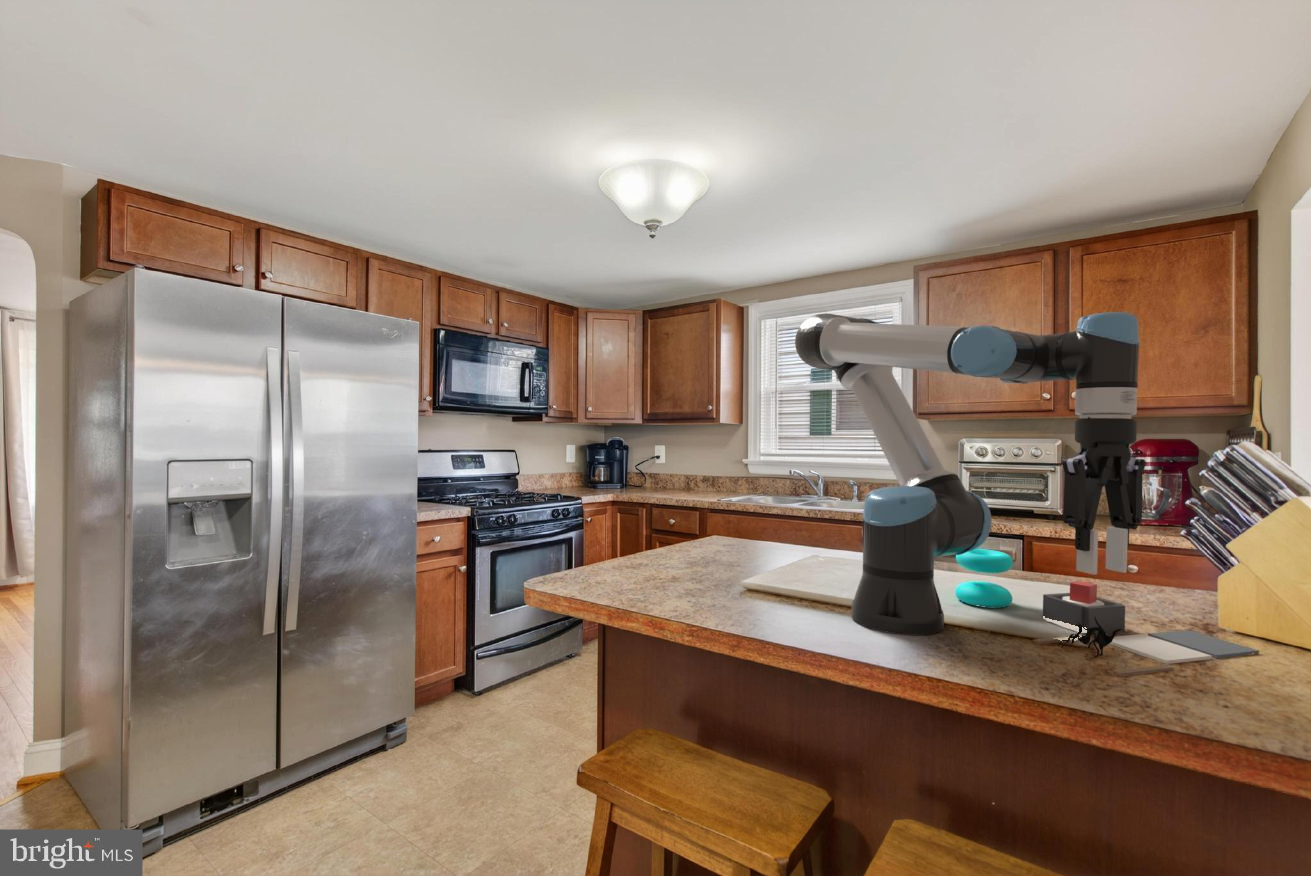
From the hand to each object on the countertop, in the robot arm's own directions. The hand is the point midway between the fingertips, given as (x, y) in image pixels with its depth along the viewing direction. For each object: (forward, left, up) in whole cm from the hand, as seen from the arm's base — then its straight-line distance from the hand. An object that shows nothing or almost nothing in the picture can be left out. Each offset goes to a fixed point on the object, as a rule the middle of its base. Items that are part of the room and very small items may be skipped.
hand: (1101, 571), depth 92 cm
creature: (-1, +2, -13) cm, 13 cm away
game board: (+10, +5, -13) cm, 17 cm away
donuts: (+5, +28, -13) cm, 31 cm away
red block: (+11, +12, -11) cm, 20 cm away
